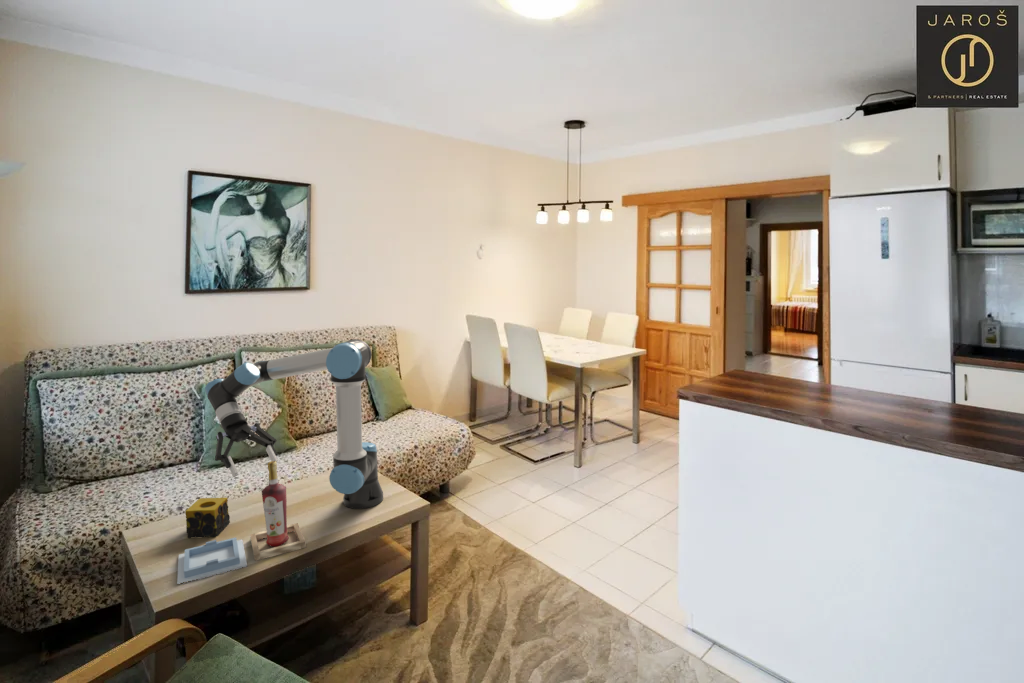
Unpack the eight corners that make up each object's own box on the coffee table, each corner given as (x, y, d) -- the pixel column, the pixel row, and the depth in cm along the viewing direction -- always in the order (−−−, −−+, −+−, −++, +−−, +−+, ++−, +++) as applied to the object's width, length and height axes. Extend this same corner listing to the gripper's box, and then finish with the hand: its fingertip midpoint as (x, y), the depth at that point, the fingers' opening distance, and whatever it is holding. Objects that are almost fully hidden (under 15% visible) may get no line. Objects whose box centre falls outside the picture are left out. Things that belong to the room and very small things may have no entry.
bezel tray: (242, 540, 173) (241, 531, 173) (247, 566, 158) (246, 555, 158) (178, 556, 164) (177, 546, 164) (177, 585, 149) (176, 574, 148)
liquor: (293, 537, 175) (288, 458, 171) (284, 549, 168) (278, 466, 164) (271, 538, 175) (265, 458, 171) (261, 549, 168) (255, 467, 164)
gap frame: (298, 528, 181) (297, 522, 181) (305, 547, 169) (305, 541, 168) (250, 540, 174) (250, 534, 173) (255, 560, 161) (254, 554, 161)
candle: (201, 524, 185) (199, 497, 184) (230, 523, 186) (228, 496, 185) (186, 538, 175) (183, 510, 174) (217, 537, 176) (214, 509, 175)
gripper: (263, 416, 193) (287, 463, 186) (190, 433, 173) (214, 486, 166) (269, 404, 189) (294, 452, 182) (195, 420, 170) (220, 474, 163)
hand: (256, 468), depth 174 cm, fingers open, 13 cm apart
